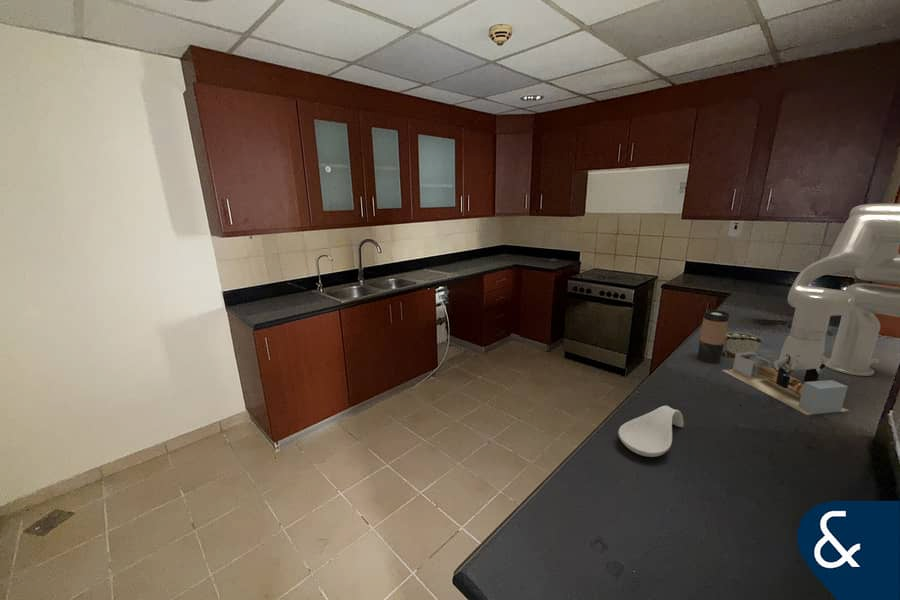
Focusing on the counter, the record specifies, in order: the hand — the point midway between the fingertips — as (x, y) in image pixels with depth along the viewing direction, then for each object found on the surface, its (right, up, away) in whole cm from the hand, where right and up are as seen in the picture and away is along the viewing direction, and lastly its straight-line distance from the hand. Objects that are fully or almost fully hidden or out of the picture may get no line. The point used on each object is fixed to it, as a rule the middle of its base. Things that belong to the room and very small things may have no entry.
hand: (795, 384), depth 112 cm
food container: (+6, +3, +31) cm, 32 cm away
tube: (-1, -2, +2) cm, 2 cm away
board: (0, -3, +6) cm, 6 cm away
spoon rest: (-54, -11, -17) cm, 57 cm away
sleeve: (-2, 0, +15) cm, 15 cm away
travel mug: (-7, +2, +28) cm, 29 cm away
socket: (0, -5, -7) cm, 9 cm away
